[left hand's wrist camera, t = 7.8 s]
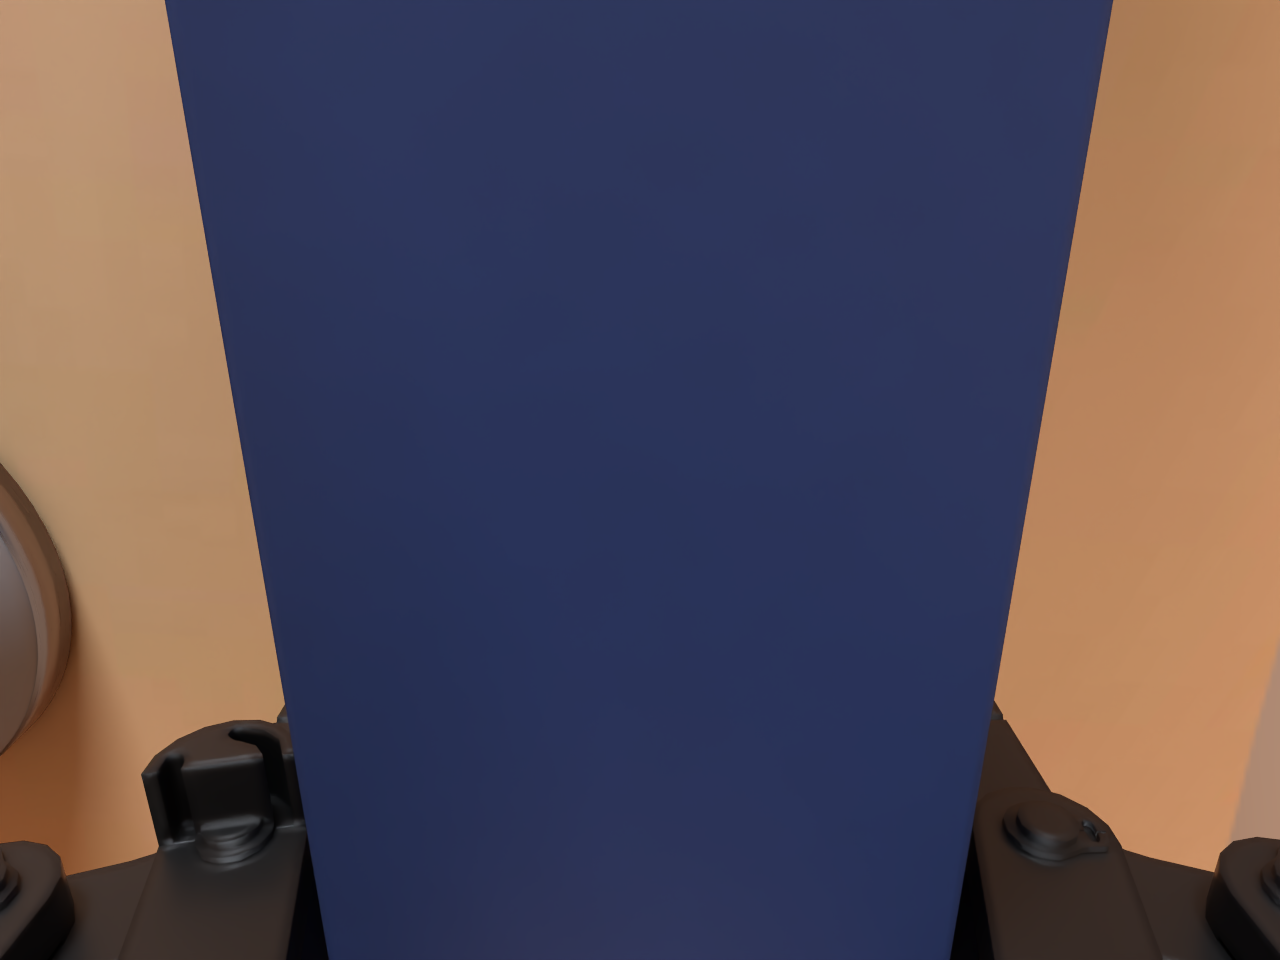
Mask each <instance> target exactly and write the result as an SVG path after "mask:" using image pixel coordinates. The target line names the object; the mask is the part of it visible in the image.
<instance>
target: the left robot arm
mask: <svg viewBox="0 0 1280 960" xmlns="http://www.w3.org/2000/svg"><path fill="white" fill-rule="evenodd" d="M71 633H72V631H71V607H70V600H69V592H68V588H67V584H66V580H65V576H64V572H63V569H62V566H61V563H60V560H59V557H58V554H57V552H56V549H55V547H54V545H53V542H52V540H51V538H50V536H49V534H48V532H47V529H46V527H45V526H44V524H43V522H42V521H41V519H40V517H39V515H38V514H37V512H36V510H35V508H34V507H33V505H32V504H31V502H30V501H29V499H28V498H27V497H26V495H25V494H24V492H23V491H22V489H21V488H20V486H19V485H18V484H17V483H16V481H15V480H14V479H13V478H12V477H11V475H10V474H9V473H8V472H7V470H6V469H5V468H4V467H3V466H2V464H1V463H0V756H1V755H2V754H3V753H4V752H5V751H6V750H7V749H8V748H9V747H10V746H11V745H12V744H13V743H14V742H15V741H16V740H17V739H18V738H19V737H20V736H22V735H23V734H24V733H25V732H26V731H27V730H28V729H29V728H30V727H31V726H32V724H33V723H34V722H35V721H36V720H37V719H38V718H39V717H40V716H41V715H42V713H43V712H44V710H45V709H46V708H47V706H48V705H49V703H50V702H51V700H52V698H53V697H54V695H55V693H56V691H57V689H58V687H59V685H60V682H61V680H62V677H63V674H64V672H65V669H66V665H67V660H68V656H69V652H70V642H71ZM141 776H142V780H143V784H144V788H145V792H146V796H147V800H148V804H149V808H150V812H151V816H152V820H153V824H154V828H155V832H156V836H157V840H158V844H159V848H158V851H157V853H155V854H152V855H149V856H145V857H142V858H139V859H136V860H132V861H129V862H124V863H120V864H116V865H112V866H107V867H103V868H99V869H94V870H90V871H86V872H81V873H77V874H73V875H68V876H66V875H65V871H64V868H63V865H62V861H61V858H60V856H59V855H58V854H56V853H55V852H54V851H53V850H52V849H51V848H50V847H49V846H48V845H44V844H39V843H33V842H28V841H18V842H9V843H1V844H0V960H329V957H328V952H327V946H326V940H325V934H324V928H323V922H322V916H321V911H320V905H319V899H318V893H317V887H316V881H315V876H314V870H313V864H312V858H311V852H310V846H309V840H308V835H307V829H306V823H305V817H304V811H303V805H302V799H301V794H300V788H299V782H298V776H297V770H296V764H295V759H294V753H293V747H292V741H291V735H290V729H289V723H288V718H287V712H286V706H284V707H283V709H282V710H281V712H280V714H279V715H278V717H277V723H269V722H266V721H262V720H234V721H229V722H225V723H221V724H216V725H212V726H208V727H204V728H202V729H200V730H197V731H195V732H193V733H191V734H188V735H186V736H184V737H182V738H179V739H177V740H176V741H174V742H173V743H172V744H170V745H169V746H168V747H166V748H165V749H163V750H162V751H161V752H159V753H158V754H157V755H155V756H154V758H153V759H152V760H151V762H150V763H149V764H148V766H147V767H146V768H145V770H144V771H143V773H142V774H141ZM950 960H1280V840H1278V839H1269V838H1261V837H1254V838H1248V839H1243V840H1238V841H1233V842H1232V843H1231V844H1230V845H1229V846H1228V847H1226V848H1225V849H1224V850H1223V851H1222V852H1221V853H1220V856H1219V859H1218V862H1217V865H1216V869H1215V872H1210V871H1206V870H1201V869H1197V868H1193V867H1188V866H1184V865H1180V864H1175V863H1171V862H1167V861H1162V860H1158V859H1154V858H1150V857H1146V856H1143V855H1140V854H1136V853H1133V852H1130V851H1127V850H1124V849H1122V846H1121V844H1120V843H1119V841H1118V840H1117V838H1116V837H1115V835H1114V833H1113V832H1112V830H1111V829H1110V827H1109V826H1108V825H1107V824H1106V823H1105V822H1104V821H1102V820H1101V819H1100V818H1099V817H1098V816H1096V815H1095V814H1094V813H1093V812H1092V811H1090V810H1089V809H1088V808H1086V807H1084V806H1082V805H1080V804H1078V803H1076V802H1074V801H1072V800H1070V799H1068V798H1066V797H1064V796H1062V795H1060V794H1056V793H1052V792H1051V791H1050V789H1049V788H1048V786H1047V784H1046V783H1045V781H1044V780H1043V778H1042V776H1041V775H1040V773H1039V772H1038V770H1037V768H1036V767H1035V765H1034V764H1033V762H1032V760H1031V759H1030V757H1029V756H1028V754H1027V752H1026V751H1025V749H1024V748H1023V746H1022V744H1021V743H1020V741H1019V740H1018V738H1017V736H1016V735H1015V733H1014V732H1013V730H1012V728H1011V727H1010V725H1009V724H1008V722H1007V720H1003V714H1002V712H1001V711H1000V709H999V708H998V706H997V704H996V703H995V701H994V702H993V708H992V714H991V720H990V726H989V732H988V738H987V744H986V749H985V755H984V761H983V767H982V773H981V779H980V785H979V791H978V796H977V802H976V808H975V814H974V820H973V826H972V832H971V837H970V843H969V849H968V855H967V861H966V867H965V873H964V879H963V884H962V890H961V896H960V902H959V908H958V914H957V920H956V926H955V931H954V937H953V943H952V949H951V955H950Z"/></svg>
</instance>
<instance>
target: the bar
mask: <svg viewBox="0 0 1280 960" xmlns="http://www.w3.org/2000/svg"><path fill="white" fill-rule="evenodd" d="M165 4H166V10H167V16H168V21H169V27H170V33H171V39H172V45H173V51H174V57H175V62H176V68H177V74H178V80H179V86H180V92H181V97H182V103H183V109H184V115H185V121H186V127H187V133H188V138H189V144H190V150H191V156H192V162H193V168H194V174H195V179H196V185H197V191H198V197H199V203H200V209H201V214H202V220H203V226H204V232H205V238H206V244H207V250H208V255H209V261H210V267H211V273H212V279H213V285H214V291H215V296H216V302H217V308H218V314H219V320H220V326H221V331H222V337H223V343H224V349H225V355H226V361H227V367H228V372H229V378H230V384H231V390H232V396H233V402H234V408H235V413H236V419H237V425H238V431H239V437H240V443H241V448H242V454H243V460H244V466H245V472H246V478H247V484H248V489H249V495H250V501H251V507H252V513H253V519H254V525H255V530H256V536H257V542H258V548H259V554H260V560H261V565H262V571H263V577H264V583H265V589H266V595H267V601H268V606H269V612H270V618H271V624H272V630H273V636H274V642H275V647H276V653H277V659H278V665H279V671H280V677H281V682H282V688H283V694H284V700H285V706H286V712H287V718H288V723H289V729H290V735H291V741H292V747H293V753H294V759H295V764H296V770H297V776H298V782H299V788H300V794H301V799H302V805H303V811H304V817H305V823H306V829H307V835H308V840H309V846H310V852H311V858H312V864H313V870H314V876H315V881H316V887H317V893H318V899H319V905H320V911H321V916H322V922H323V928H324V934H325V940H326V946H327V952H328V957H329V960H950V955H951V949H952V943H953V937H954V931H955V926H956V920H957V914H958V908H959V902H960V896H961V890H962V884H963V879H964V873H965V867H966V861H967V855H968V849H969V843H970V837H971V832H972V826H973V820H974V814H975V808H976V802H977V796H978V791H979V785H980V779H981V773H982V767H983V761H984V755H985V749H986V744H987V738H988V732H989V726H990V720H991V714H992V708H993V702H994V697H995V691H996V685H997V679H998V673H999V667H1000V661H1001V655H1002V650H1003V644H1004V638H1005V632H1006V626H1007V620H1008V614H1009V609H1010V603H1011V597H1012V591H1013V585H1014V579H1015V573H1016V567H1017V562H1018V556H1019V550H1020V544H1021V538H1022V532H1023V526H1024V520H1025V515H1026V509H1027V503H1028V497H1029V491H1030V485H1031V479H1032V474H1033V468H1034V462H1035V456H1036V450H1037V444H1038V438H1039V432H1040V427H1041V421H1042V415H1043V409H1044V403H1045V397H1046V391H1047V385H1048V380H1049V374H1050V368H1051V362H1052V356H1053V350H1054V344H1055V338H1056V333H1057V327H1058V321H1059V315H1060V309H1061V303H1062V297H1063V292H1064V286H1065V280H1066V274H1067V268H1068V262H1069V256H1070V250H1071V245H1072V239H1073V233H1074V227H1075V221H1076V215H1077V209H1078V203H1079V198H1080V192H1081V186H1082V180H1083V174H1084V168H1085V162H1086V156H1087V151H1088V145H1089V139H1090V133H1091V127H1092V121H1093V115H1094V110H1095V104H1096V98H1097V92H1098V86H1099V80H1100V74H1101V68H1102V63H1103V57H1104V51H1105V45H1106V39H1107V33H1108V27H1109V21H1110V16H1111V10H1112V4H1113V0H165Z"/></svg>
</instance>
